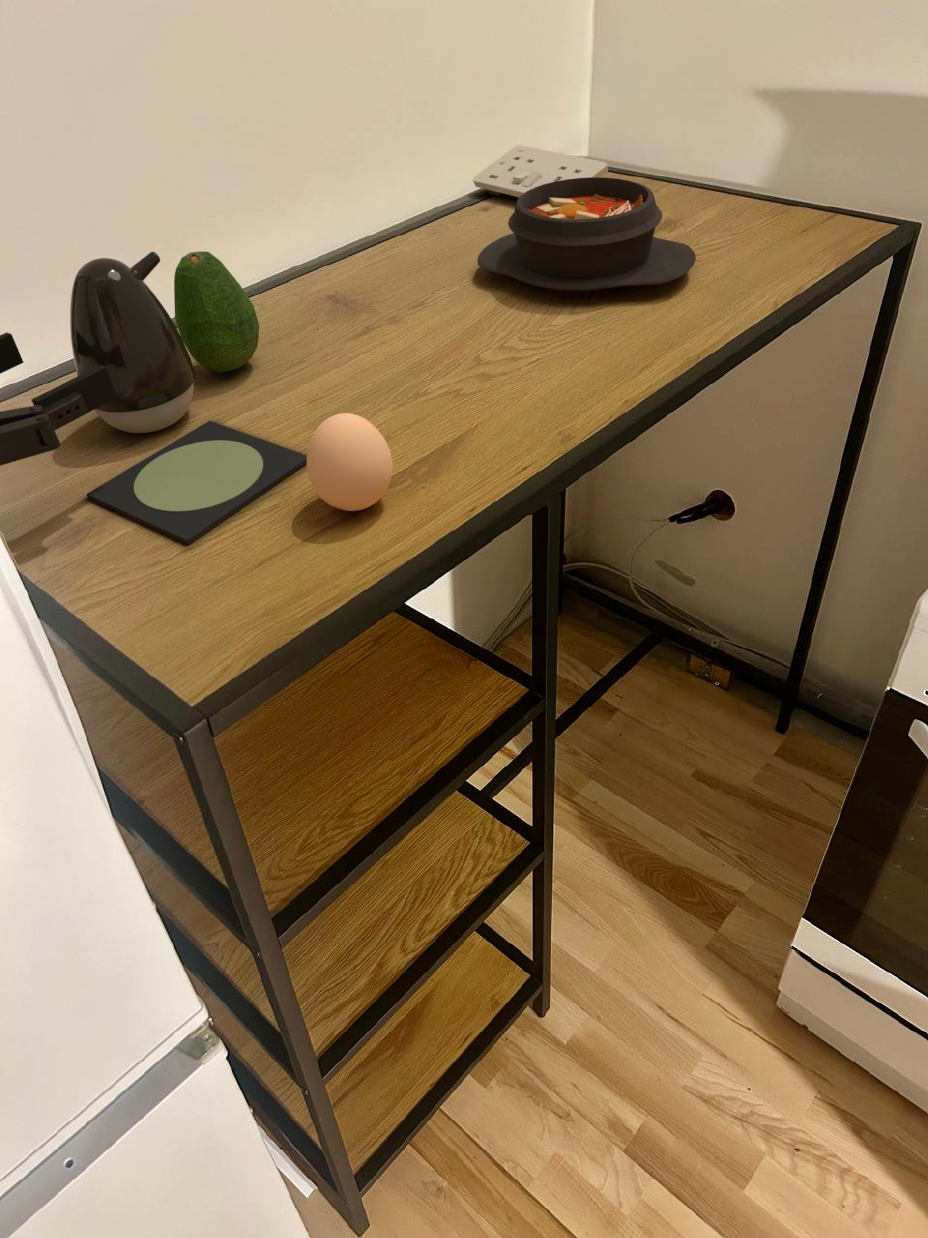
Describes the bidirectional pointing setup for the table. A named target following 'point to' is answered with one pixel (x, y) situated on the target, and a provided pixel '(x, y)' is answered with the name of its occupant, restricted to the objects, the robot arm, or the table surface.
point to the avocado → (213, 313)
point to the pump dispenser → (130, 345)
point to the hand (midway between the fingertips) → (60, 363)
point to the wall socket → (534, 170)
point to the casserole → (587, 238)
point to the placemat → (198, 481)
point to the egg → (349, 462)
